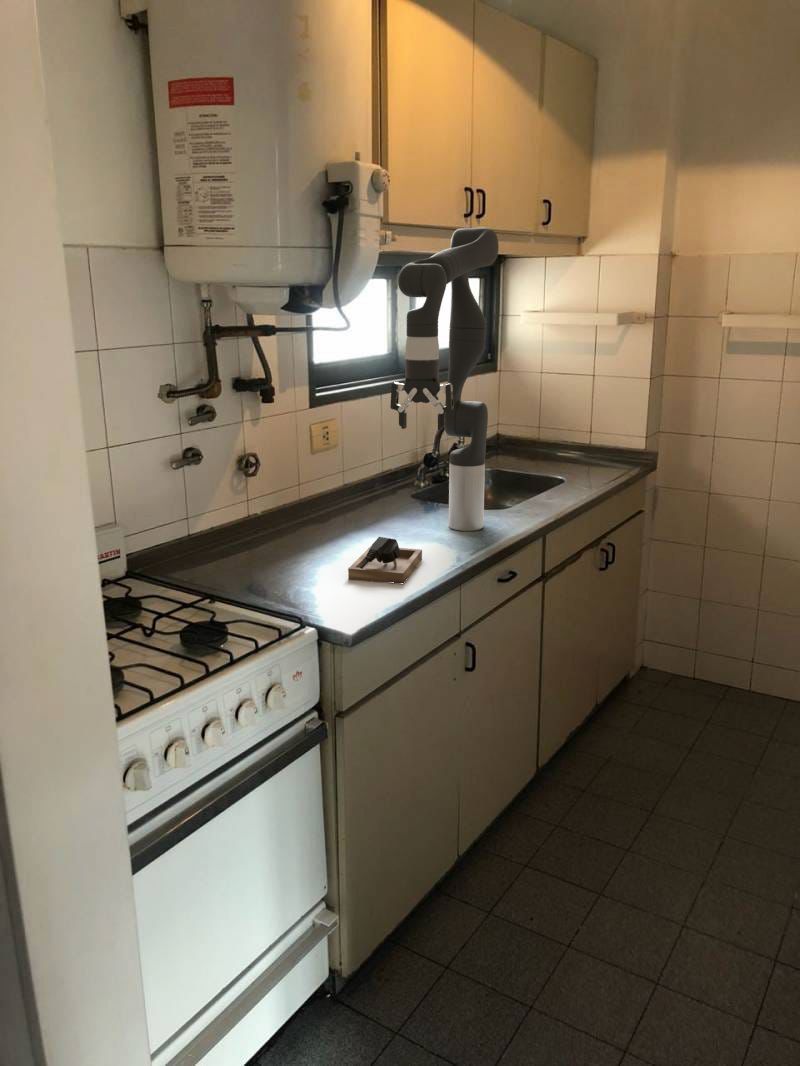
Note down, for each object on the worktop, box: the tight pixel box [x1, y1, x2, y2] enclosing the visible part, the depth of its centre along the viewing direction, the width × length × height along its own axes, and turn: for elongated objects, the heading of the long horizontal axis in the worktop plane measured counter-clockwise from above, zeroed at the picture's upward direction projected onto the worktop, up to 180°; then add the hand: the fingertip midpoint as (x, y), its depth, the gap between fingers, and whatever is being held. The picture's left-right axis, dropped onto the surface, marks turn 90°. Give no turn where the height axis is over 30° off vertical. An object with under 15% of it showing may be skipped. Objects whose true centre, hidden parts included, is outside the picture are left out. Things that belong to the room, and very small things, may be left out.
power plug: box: [360, 536, 400, 569], centre depth 189 cm, size 6×8×12 cm
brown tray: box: [347, 545, 423, 584], centre depth 192 cm, size 17×12×2 cm
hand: (421, 429), depth 195 cm, fingers open, 8 cm apart
